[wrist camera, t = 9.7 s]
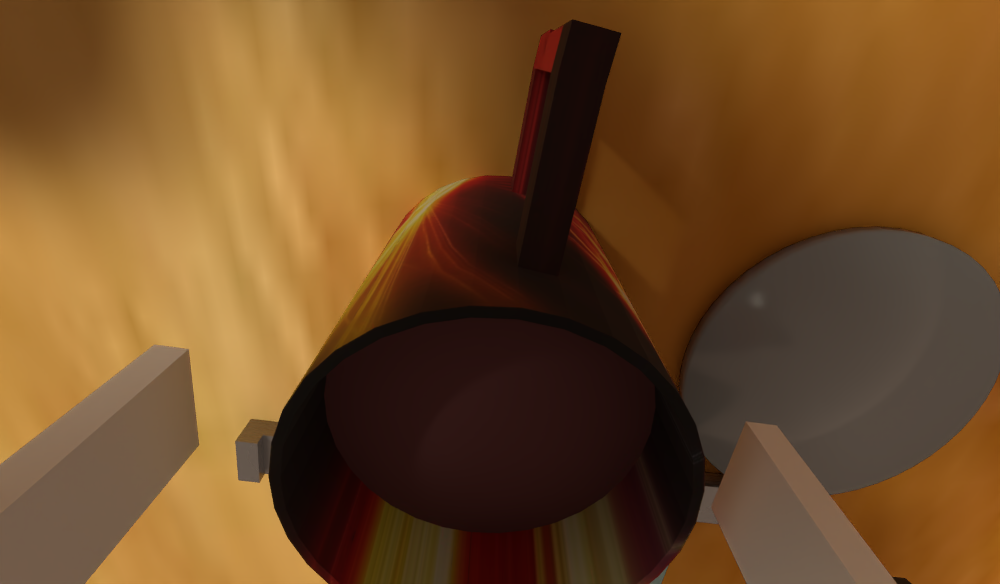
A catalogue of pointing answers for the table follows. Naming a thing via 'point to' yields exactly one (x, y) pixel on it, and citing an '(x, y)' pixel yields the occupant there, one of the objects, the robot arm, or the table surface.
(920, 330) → the coaster
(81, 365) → the table surface
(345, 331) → the mug
